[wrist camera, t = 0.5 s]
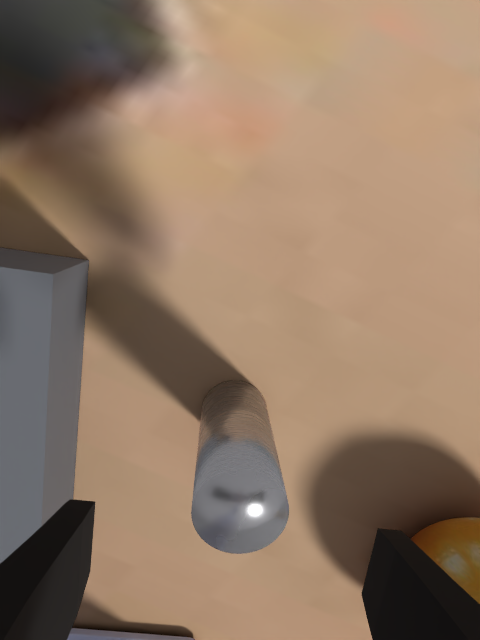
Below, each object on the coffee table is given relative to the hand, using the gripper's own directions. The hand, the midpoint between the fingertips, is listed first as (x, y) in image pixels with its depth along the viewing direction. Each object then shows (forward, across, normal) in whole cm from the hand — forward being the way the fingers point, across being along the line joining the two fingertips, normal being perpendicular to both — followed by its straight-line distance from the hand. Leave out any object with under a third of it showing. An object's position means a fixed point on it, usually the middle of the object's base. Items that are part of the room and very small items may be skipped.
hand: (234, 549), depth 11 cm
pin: (+9, 0, +1) cm, 9 cm away
